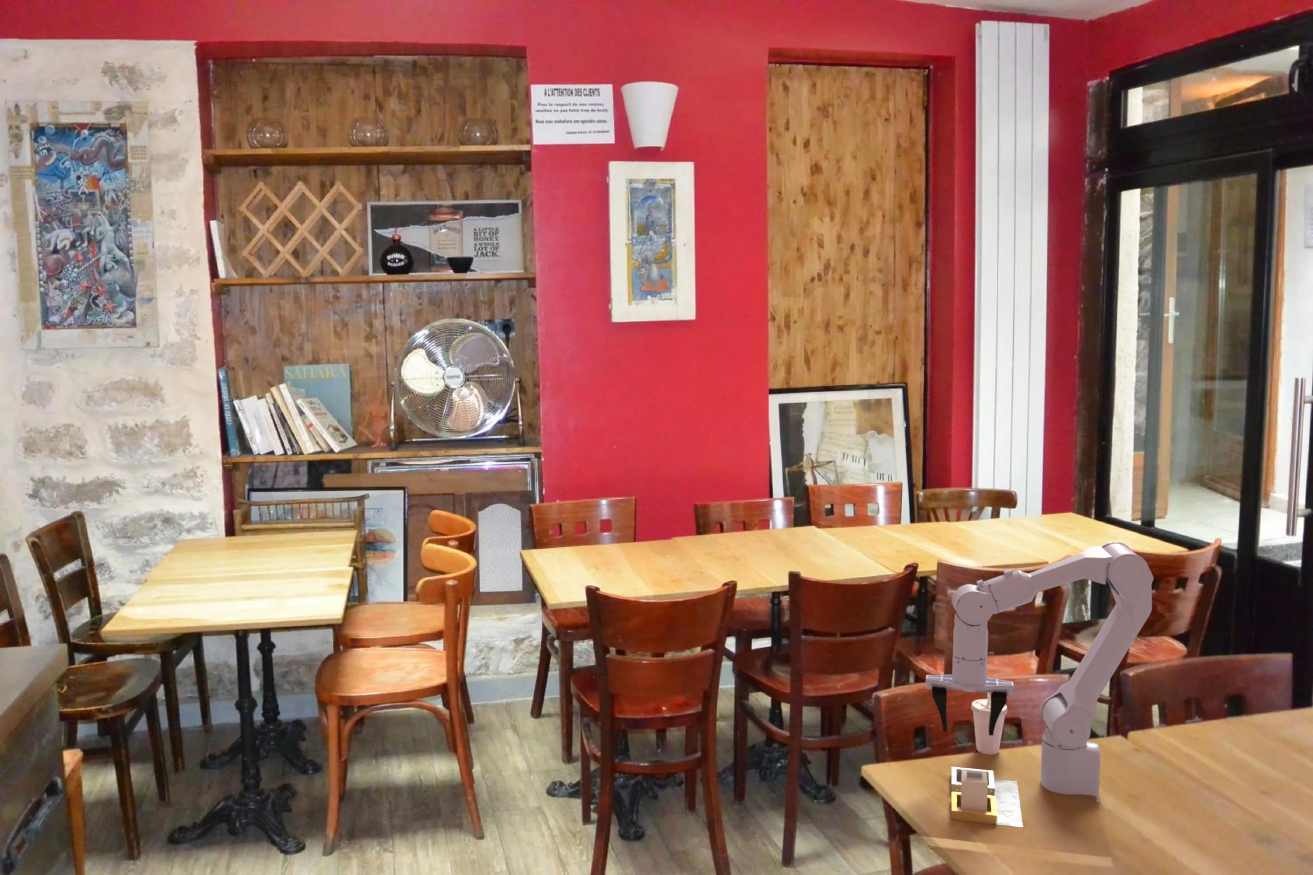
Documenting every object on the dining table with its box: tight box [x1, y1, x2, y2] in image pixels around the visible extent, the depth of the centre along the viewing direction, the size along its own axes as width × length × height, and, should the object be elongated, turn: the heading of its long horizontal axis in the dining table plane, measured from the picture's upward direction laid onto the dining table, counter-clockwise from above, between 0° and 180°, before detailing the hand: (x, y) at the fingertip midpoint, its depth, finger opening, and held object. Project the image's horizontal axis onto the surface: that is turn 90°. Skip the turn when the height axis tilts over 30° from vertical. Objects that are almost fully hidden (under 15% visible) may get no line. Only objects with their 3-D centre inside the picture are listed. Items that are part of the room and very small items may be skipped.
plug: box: [961, 770, 988, 812], centre depth 181 cm, size 4×4×7 cm
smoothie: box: [970, 693, 1008, 756], centre depth 205 cm, size 6×6×14 cm
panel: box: [950, 766, 1024, 828], centre depth 185 cm, size 11×17×2 cm, turn 165°
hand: (967, 730), depth 192 cm, fingers open, 7 cm apart
